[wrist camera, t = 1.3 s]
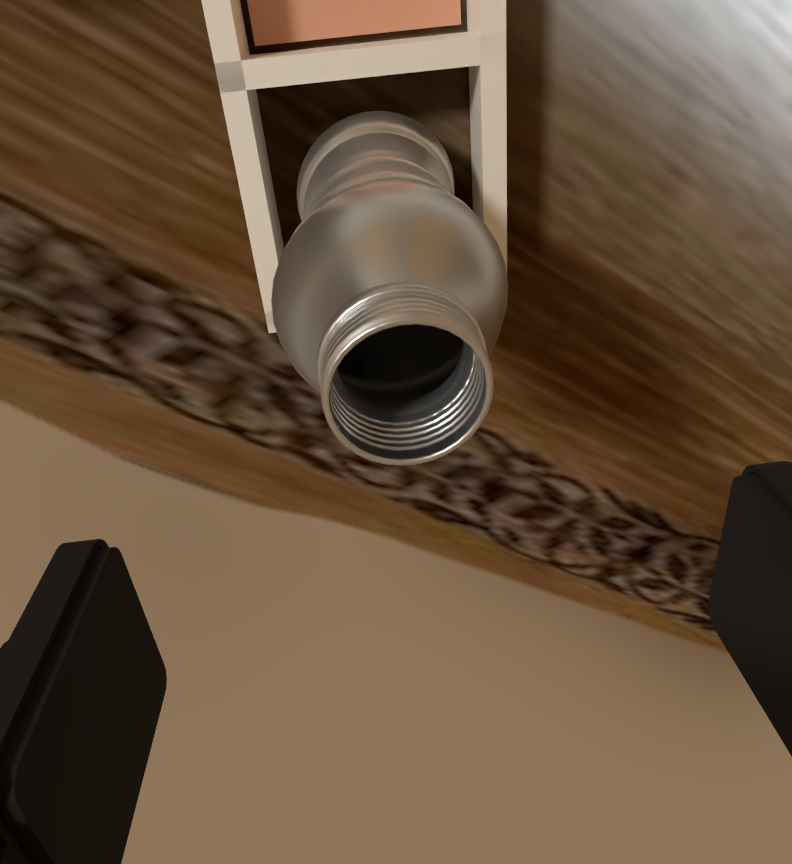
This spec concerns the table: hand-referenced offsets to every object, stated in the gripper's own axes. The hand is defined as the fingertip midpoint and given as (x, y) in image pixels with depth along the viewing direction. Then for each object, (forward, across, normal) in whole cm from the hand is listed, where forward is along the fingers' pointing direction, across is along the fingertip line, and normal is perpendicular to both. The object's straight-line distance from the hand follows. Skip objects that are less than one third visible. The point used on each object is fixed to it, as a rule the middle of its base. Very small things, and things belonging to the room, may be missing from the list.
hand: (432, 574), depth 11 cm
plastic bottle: (+25, 0, -1) cm, 25 cm away
